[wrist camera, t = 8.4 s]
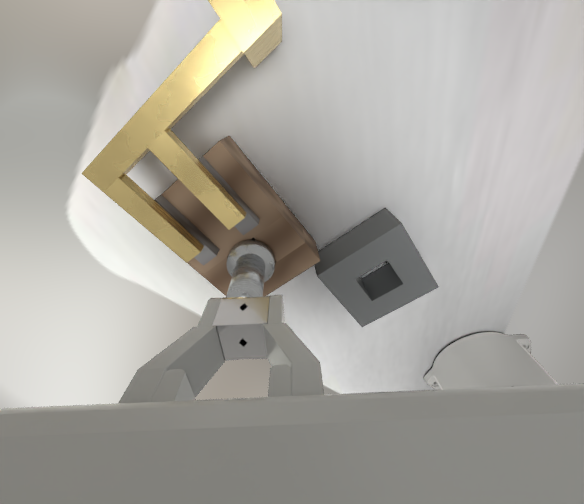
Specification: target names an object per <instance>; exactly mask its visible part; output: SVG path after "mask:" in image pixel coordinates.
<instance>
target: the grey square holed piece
mask: <svg viewBox="0 0 584 504" xmlns="http://www.w3.org/2000/svg"><path fill="white" fill-rule="evenodd" d="M318 253H319V257H320V261H319V262H318V263H316V264H315V269H316V273H317V276H318V278H319V279H320V280H321V281H322V282H323V283H324V284H325V286H326V287H327V288H328V289H329V290H330V291H331V292H332V294H333V295H334V296H335V297H336V298H337V299H338V300H339V301H340V303H341V304H342V305H343V306H344V307H345V308H346V309H347V311H348V312H349V313H350V314H351V315H352V316H353V317H354V319H355V320H356V321H357V322H358V323H359V324H360V325H361V326H362V327H363V326H365V325H367V324H369V323H371V322H373V321H375V320H377V319H379V318H381V317H383V316H385V315H386V314H388V313H390V312H392V311H394V310H396V309H398V308H400V307H402V306H404V305H406V304H407V303H409V302H411V301H413V300H415V299H417V298H419V297H421V296H423V295H425V294H427V293H429V292H430V291H432V290H434V289H436V288H438V285H437V283H436V281H435V280H434V278H433V276H432V275H431V273H430V271H429V269H428V268H427V266H426V264H425V263H424V261H423V259H422V257H421V256H420V254H419V252H418V251H417V249H416V247H415V245H414V244H413V242H412V240H411V239H410V237H409V235H408V233H407V232H406V230H405V228H404V227H403V225H402V223H401V222H400V221H399V220H398V219H397V218H396V217H395V216H393V215H392V214H391V213H390V212H389V211H388V210H387V209H386V208H384V209H383V210H381V211H380V212H378V213H377V214H375V215H374V216H372V217H371V218H369V219H368V220H366V221H365V222H363V223H362V224H360V225H358V226H357V227H355V228H354V229H352V230H351V231H349V232H348V233H346V234H345V235H343V236H342V237H340V238H339V239H337V240H336V241H334V242H333V243H331V244H329V245H328V246H326V247H325V248H323V249H322V250H320V251H319V252H318ZM385 261H388V262H389V263H388V264H387V265H385V266H383V267H381V268H380V269H378V270H376V271H375V272H373V273H371V274H370V275H368V276H366V277H364V278H363V279H361V278H360V276H361V275H363V274H365V273H367V272H368V271H370V270H372V269H373V268H375V267H377V266H378V265H380V264H382V263H384V262H385Z"/></svg>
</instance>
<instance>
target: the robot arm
mask: <svg viewBox="0 0 584 504" xmlns="http://www.w3.org/2000/svg"><path fill="white" fill-rule="evenodd" d="M238 359H268V361H269V362H270V364H271V366H272V367H271V368H270V377H269V390H268V397H259V398H237V399H236V398H235V399H213V400H196V399H195V397H196V396H197V395H198V394H199V392H200V391H201V390H202V389H203V388H204V386H205V385H206V384H207V383H208V381H209V380H210V379H211V378H212V376H213V375H214V374H215V373H216V372H217V371H218V369H219V368H220V367H221V366H222V364H223V363H224V362H225V360H238ZM424 380H425V381H426V383H427V384H428V385H429V386H431V387H432V388H434V389H435V390H422V391H399V392H375V393H351V394H329V395H324V389H323V382H322V374H321V367H320V362H319V361H318V359H317V358H316V357H315V356H314V355H313V354H312V353H311V351H310V350H309V349H308V348H307V347H306V346H305V345H304V343H303V342H302V341H301V340H300V339H299V338H298V337H297V335H296V334H295V333H294V332H293V331H292V330H291V329H290V327H289V326H288V325H287V324H286V323H285V317H284V303H283V296H282V295H274V296H262V297H232V298H211V299H209V300H208V303H207V305H206V307H205V310H204V312H203V314H202V317H201V319H200V321H199V324H198V326H197V327H193V328H192V329H190V330H189V331H188V332H186V333H185V334H184V335H183V336H181V337H180V338H179V339H177V340H176V341H175V342H174V343H172V344H171V345H170V346H168V347H167V348H166V349H164V350H163V351H162V352H160V353H159V354H158V355H156V356H155V357H154V358H153V359H151V360H150V361H149V362H147V363H146V364H145V365H143V366H142V367H141V368H139V369H138V370H137V372H136V374H135V375H134V377H133V379H132V381H131V382H130V384H129V386H128V387H127V389H126V391H125V392H124V394H123V396H122V398H121V400H120V401H119V403H118V404H96V405H73V406H50V407H27V408H4V409H0V504H584V383H583V384H560V385H558V383H557V382H556V381H555V380H554V378H553V377H551V375H550V374H549V373H548V372H547V371H546V370H545V369H544V368H543V367H542V366H541V365H540V364H539V363H538V361H537V360H536V359H535V358H534V357H533V356H532V355H531V340H530V339H529V338H528V337H527V336H526V335H524V334H517V335H506V334H502V333H498V332H483V333H477V334H473V335H469V336H466V337H464V338H461V339H459V340H457V341H455V342H454V343H452V344H450V345H449V346H447V347H446V348H445V349H444V350H443V351H442V352H441V353H440V354H439V355H438V356H437V358H436V359H435V361H434V364H433V367H432V369H431V370H430V371H429V372H428V373H427V374H426V375H425V376H424Z"/></svg>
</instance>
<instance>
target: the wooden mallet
mask: <svg viewBox="0 0 584 504" xmlns="http://www.w3.org/2000/svg"><path fill="white" fill-rule="evenodd" d="M208 1H209V2H210V4H211V5H212V7H213V8H214V10H215V11H216V13H217V14H218V16H219V17H220V20H219V21H218V22H217V23H216V24H215V25H214V26H213V28H212V29H211V30H210V31H209V32H208V33H207V34H206V35H205V37H204V38H203V39H202V40H201V41H200V42H199V43H198V44H197V45H196V47H195V48H194V49H193V50H192V51H191V52H190V53H189V54H188V55H187V57H186V58H185V59H184V60H183V61H182V62H181V63H180V64H179V65H178V67H177V68H176V69H175V70H174V71H173V72H172V73H171V74H170V75H169V77H168V78H167V79H166V80H165V81H164V82H163V83H162V84H161V86H160V87H159V88H158V89H157V90H156V91H155V92H154V93H153V94H152V96H151V97H150V98H149V99H148V100H147V101H146V102H145V103H144V104H143V106H142V107H141V108H140V109H139V110H138V111H137V112H136V113H135V114H134V116H133V117H132V118H131V119H130V120H129V121H128V122H127V123H126V124H125V126H124V127H123V128H122V129H121V130H120V131H119V132H118V133H117V135H116V136H115V137H114V138H113V139H112V140H111V141H110V142H109V143H108V145H107V146H106V147H105V148H104V149H103V150H102V151H101V152H100V153H99V155H98V156H97V157H96V158H95V159H94V160H93V161H92V162H91V163H90V165H89V166H88V167H87V168H86V169H85V170H84V171H83V172H82V174H83V175H84V176H85V177H86V178H87V179H89V180H90V181H91V182H92V183H93V184H94V185H96V186H97V187H98V188H99V189H100V190H102V191H103V192H104V193H105V194H106V195H107V196H109V197H110V198H111V199H112V200H113V201H114V202H116V203H117V204H118V205H119V206H120V207H122V208H123V209H124V210H125V211H126V212H127V213H129V214H130V215H131V216H132V217H133V218H135V219H136V220H137V221H138V222H139V223H140V224H142V225H143V226H144V227H145V228H146V229H147V230H149V231H150V232H151V233H152V234H153V235H155V236H156V237H157V238H158V239H159V240H160V241H162V242H163V243H164V244H165V245H166V246H167V247H169V248H170V249H171V250H172V251H173V252H175V253H176V254H177V255H178V256H179V257H180V258H182V259H183V260H184V261H185V262H186V263H187V262H189V261H190V260H191V259H193V258H194V257H195V256H196V255H198V254H199V253H200V252H201V251H202V249H203V247H204V246H203V245H202V244H201V243H200V242H199V241H198V240H197V239H196V238H195V237H193V236H192V235H191V234H190V233H189V232H188V231H187V230H186V229H185V228H184V227H183V226H182V225H180V224H179V223H178V222H177V221H176V220H175V219H174V218H173V217H172V216H171V215H170V214H168V213H167V212H166V211H165V210H164V209H163V208H162V207H161V206H160V205H159V204H158V203H156V202H155V201H154V200H153V199H152V198H151V197H150V196H149V195H148V194H147V193H146V192H145V191H143V190H142V189H141V188H140V187H139V186H138V185H137V184H136V183H135V182H134V181H133V180H131V179H130V178H129V177H128V176H127V175H126V174H127V173H128V172H129V171H130V170H131V169H132V168H133V167H134V166H135V165H136V164H137V163H138V162H139V161H140V160H141V159H142V158H143V157H144V156H145V155H146V154H147V153H148V152H149V151H151V152H152V153H153V154H154V155H155V156H156V157H157V158H158V159H159V160H160V161H161V162H162V163H163V164H164V165H165V166H166V167H167V168H168V169H169V170H170V171H171V172H172V173H173V174H174V175H175V176H176V177H177V178H178V179H179V180H180V181H181V182H182V183H183V184H184V185H185V186H186V187H187V188H188V189H189V190H190V191H191V192H192V193H193V194H194V195H195V196H196V197H197V198H198V199H199V200H200V201H201V202H202V203H203V204H204V205H205V206H206V207H207V208H208V209H209V210H210V211H211V212H212V213H213V214H214V215H215V216H216V217H217V218H218V219H219V220H220V221H221V222H222V223H223V224H224V225H225V227H226V228H227V229H228V230H230V229H231V228H232V227H234V226H235V225H236V224H238V223H239V222H240V221H241V220H243V219H244V218H245V216H246V212H245V211H244V210H243V208H242V207H241V206H240V205H239V204H238V203H237V202H236V201H235V200H234V199H233V197H232V196H231V195H230V194H229V193H228V192H227V191H226V190H225V189H224V188H223V187H222V185H221V184H220V183H219V182H218V181H217V180H216V179H215V178H214V177H213V176H212V174H211V173H210V172H209V171H208V170H207V169H206V168H205V167H204V166H203V165H202V164H201V162H200V161H199V160H198V159H197V158H196V157H195V156H194V155H193V154H192V153H191V152H190V150H189V149H188V148H187V147H186V146H185V145H184V144H183V143H182V142H181V141H180V139H179V138H178V137H177V136H176V135H175V134H174V133H173V132H172V131H171V130H170V129H171V128H172V127H173V126H174V125H175V124H176V123H177V122H178V121H179V120H180V119H181V118H182V117H183V116H184V115H185V114H186V113H187V112H188V111H189V110H190V109H191V108H192V107H193V106H194V105H195V104H196V103H197V102H198V101H199V100H200V99H201V98H202V97H203V96H204V95H205V94H206V93H207V91H208V90H209V89H210V88H211V87H212V86H213V85H214V84H215V83H216V82H217V81H218V80H219V79H220V78H221V77H222V76H223V75H224V74H225V73H226V72H227V71H228V70H229V69H230V68H231V67H232V66H233V65H234V64H235V63H236V62H237V61H238V60H239V59H240V58H241V57H242V56H243V55H244V54H245V55H246V57H247V58H248V60H249V61H250V63H251V64H252V66H253V67H254V68H255V67H256V66H258V65H259V64H260V63H261V62H262V61H263V60H264V59H265V58H266V57H267V56H268V55H269V54H270V53H271V52H272V51H273V50H274V49H275V48H276V47H277V46H278V45H279V44H280V43H281V42H282V13H281V12H280V10H279V8H278V7H277V5H276V3H275V1H274V0H208Z"/></svg>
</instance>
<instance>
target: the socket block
mask: <svg viewBox="0 0 584 504" xmlns="http://www.w3.org/2000/svg"><path fill="white" fill-rule="evenodd" d="M198 160H199V161H200V162H201V164H202V165H203V166H204V167H205V168H206V169H207V170H208V171H209V172H210V173H211V174H212V176H213V177H214V178H215V179H216V180H217V181H218V182H219V183H220V184H221V185H222V187H223V188H224V189H225V190H226V191H227V192H228V193H229V194H230V195H231V196H232V197H233V199H234V200H235V201H236V202H237V203H238V204H239V205H240V206H241V207H242V208H243V210H244V211H245V212H246V216H245V218H244V219H243V220H241V221H240V222H239V223H238V224H236V225H235V226H234V227H232V228H231V229H230V230H228V229H227V228H226V227H225V225H224V224H223V223H222V222H221V221H220V220H219V219H218V218H217V217H216V216H215V215H214V214H213V213H212V212H211V211H210V210H209V209H208V208H207V207H206V206H205V205H204V204H203V203H202V202H201V201H200V200H199V199H198V198H197V197H196V196H195V195H194V194H193V193H192V192H191V191H190V190H189V189H188V188H187V187H186V186H185V185H184V184H183V183H182V182H181V181H180V180H179V179H178V180H177V181H176V182H175V183H173V184H172V185H171V186H170V187H169V188H168V189H167V190H166V191H165V192H164V193H163V194H162V195H160V196H159V197H157V198H156V199H155V200H154V201H155V202H156V203H158V204H159V205H160V206H161V207H162V208H163V209H164V210H165V211H166V212H167V213H168V214H170V215H171V216H172V217H173V218H174V219H175V220H176V221H177V222H178V223H179V224H180V225H182V226H183V227H184V228H185V229H186V230H187V231H188V232H189V233H190V234H191V235H192V236H193V237H195V238H196V239H197V240H198V241H199V242H200V243H201V244H202V245H203V246H204V247H203V249H202V251H201V252H200V253H199V254H198V255H196V256H195V257H194V258H193V259H191V260H190V261H189V262H187V263H188V264H189V265H190V266H191V267H193V268H194V269H195V270H196V271H197V272H199V273H200V274H201V275H202V276H203V277H204V278H206V279H207V280H208V281H209V282H210V283H211V284H213V285H214V286H215V287H216V288H217V289H219V290H220V291H221V292H222V293H223V294H224V295H227V292H228V289H229V285H230V282H231V278H232V277H231V275H230V274H229V272H228V270H227V258H228V256H229V253H230V251H231V249H232V248H233V247H234V246H235V245H236V244H237V243H239V242H241V241H245V240H251V239H252V238H253V237H254V238H255V239H256V240H257V241H260V242H262V243H264V244H266V245H267V246H268V247H269V248H270V249H271V250H272V252H273V254H274V257H275V269H274V273H273V275H272V276H271V278H270V279H269V280H267V281H266V282H264V287H263V296H266V295H268V294H270V293H271V292H273V291H274V290H276V289H277V288H279V287H280V286H282V285H284V284H285V283H287V282H288V281H290V280H291V279H293V278H294V277H296V276H298V275H299V274H301V273H302V272H304V271H305V270H307V269H309V268H310V267H312V266H313V265H315V264H316V263H318V262H319V261H320V257H319V253H318V249H317V246H316V242H315V240H314V239H313V238H312V237H311V236H310V234H309V233H308V232H307V231H306V229H305V228H304V227H303V226H302V224H301V223H300V222H299V221H298V219H297V218H296V217H295V216H294V215H293V213H292V212H291V211H290V210H289V208H288V207H287V206H286V205H285V203H284V202H283V201H282V200H281V199H280V197H279V196H278V195H277V194H276V192H275V191H274V190H273V189H272V187H271V186H270V185H269V184H268V183H267V181H266V180H265V179H264V178H263V176H262V175H261V174H260V173H259V171H258V170H257V169H256V168H255V167H254V165H253V164H252V163H251V162H250V160H249V159H248V158H247V157H246V155H245V154H244V153H243V152H242V151H241V149H240V148H239V147H238V146H237V144H236V143H235V142H234V141H233V139H232V138H231V137H230V136H228V137H226V138H224V139H222V140H220V141H219V142H218V143H217V144H216V145H214V146H213V147H212V148H211V149H210V150H209V151H208V152H207V153H206V154H205V155H204V156H202V157H201V158H199V159H198Z"/></svg>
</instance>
